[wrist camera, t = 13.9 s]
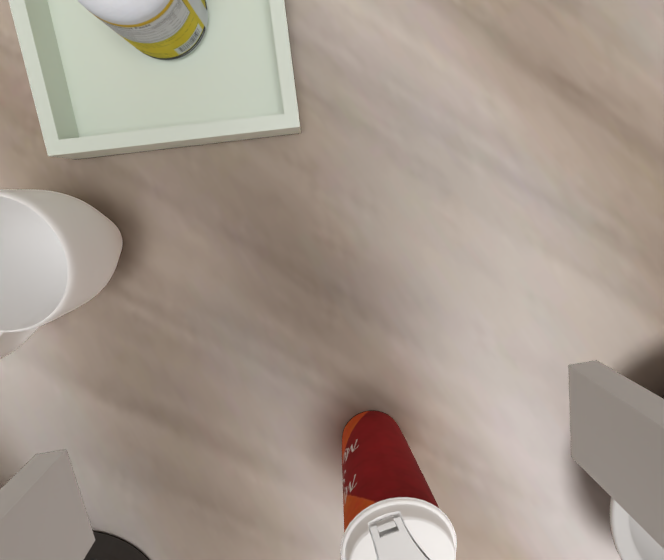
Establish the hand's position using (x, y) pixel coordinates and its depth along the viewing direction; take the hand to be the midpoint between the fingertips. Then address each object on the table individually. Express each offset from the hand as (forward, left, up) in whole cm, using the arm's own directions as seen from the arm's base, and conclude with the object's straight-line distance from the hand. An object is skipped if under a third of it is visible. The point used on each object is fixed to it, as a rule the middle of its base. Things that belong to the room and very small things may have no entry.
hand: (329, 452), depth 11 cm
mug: (-19, +3, -26) cm, 32 cm away
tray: (-9, +20, -26) cm, 34 cm away
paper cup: (+3, -17, -26) cm, 31 cm away
